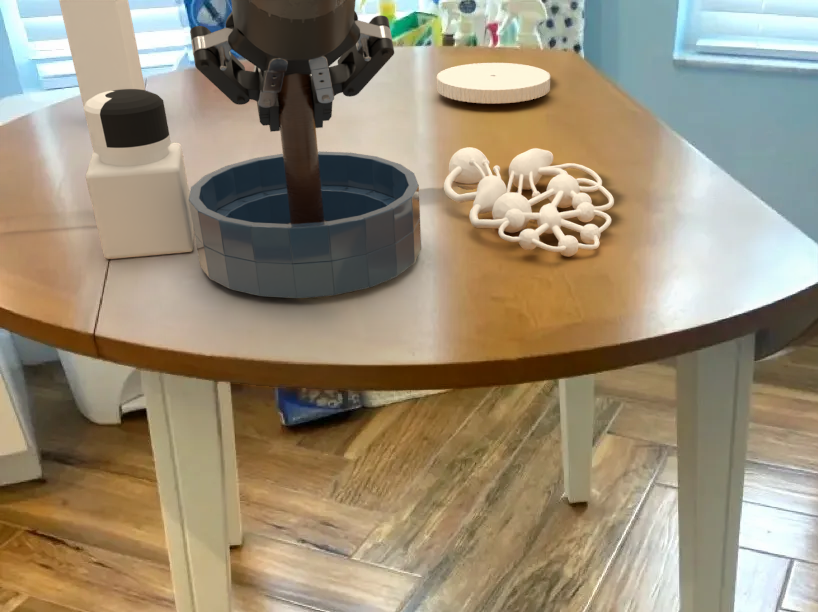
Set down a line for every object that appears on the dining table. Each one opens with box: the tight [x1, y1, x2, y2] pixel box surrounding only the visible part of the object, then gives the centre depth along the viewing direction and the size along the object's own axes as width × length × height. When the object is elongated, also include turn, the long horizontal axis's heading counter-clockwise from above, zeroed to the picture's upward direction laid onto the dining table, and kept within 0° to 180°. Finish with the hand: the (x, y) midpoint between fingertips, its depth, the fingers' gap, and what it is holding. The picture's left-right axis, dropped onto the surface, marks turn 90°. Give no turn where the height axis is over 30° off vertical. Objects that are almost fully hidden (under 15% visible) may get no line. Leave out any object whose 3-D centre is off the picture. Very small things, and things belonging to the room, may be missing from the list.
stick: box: [277, 73, 328, 224], centre depth 72 cm, size 4×4×13 cm
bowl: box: [189, 150, 422, 299], centre depth 76 cm, size 18×18×6 cm
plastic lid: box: [436, 62, 551, 105], centre depth 119 cm, size 14×14×2 cm
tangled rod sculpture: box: [443, 146, 615, 258], centre depth 84 cm, size 19×14×4 cm
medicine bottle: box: [83, 89, 195, 260], centre depth 78 cm, size 7×7×12 cm
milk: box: [58, 0, 146, 108], centre depth 107 cm, size 6×6×22 cm
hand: (294, 118), depth 72 cm, fingers closed on stick, 2 cm apart
